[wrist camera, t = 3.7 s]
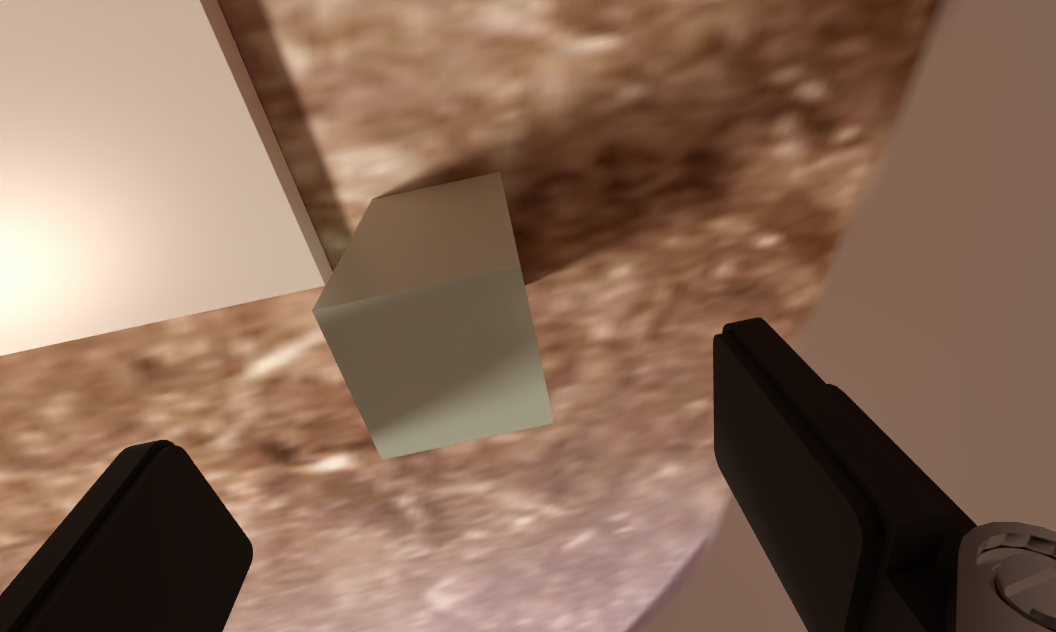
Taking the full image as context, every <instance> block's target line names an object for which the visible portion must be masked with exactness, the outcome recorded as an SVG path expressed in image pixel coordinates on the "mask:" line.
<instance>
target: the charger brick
mask: <svg viewBox="0 0 1056 632" xmlns="http://www.w3.org/2000/svg"><path fill="white" fill-rule="evenodd" d="M312 311H313V313H314V315H315V318H316V320H317V322H318V324H319V326H320V328H321V330H322V332H323V335H324V337H325V339H326V341H327V343H328V345H329V347H330V350H331V352H332V354H333V356H334V358H335V360H336V362H337V365H338V367H339V369H340V371H341V373H342V375H343V377H344V379H345V382H346V384H347V386H348V388H349V390H350V392H351V394H352V397H353V399H354V401H355V403H356V405H357V407H358V409H359V411H360V414H361V416H362V418H363V420H364V422H365V424H366V426H367V429H368V431H369V433H370V435H371V437H372V439H373V441H374V443H375V446H376V448H377V450H378V452H379V454H380V456H381V458H382V460H383V459H388V458H393V457H397V456H402V455H407V454H411V453H416V452H421V451H425V450H430V449H435V448H439V447H444V446H449V445H453V444H458V443H463V442H467V441H472V440H477V439H481V438H486V437H491V436H495V435H500V434H505V433H509V432H514V431H519V430H523V429H528V428H533V427H537V426H542V425H547V424H552V423H554V420H553V416H552V411H551V406H550V402H549V397H548V392H547V388H546V383H545V378H544V374H543V369H542V364H541V360H540V355H539V350H538V346H537V341H536V336H535V331H534V327H533V322H532V317H531V313H530V308H529V303H528V299H527V294H526V289H525V285H524V280H523V275H522V271H521V266H520V262H519V257H518V252H517V248H516V243H515V238H514V234H513V229H512V225H511V220H510V215H509V211H508V206H507V201H506V197H505V192H504V188H503V183H502V178H501V174H500V172H495V173H491V174H486V175H482V176H477V177H472V178H468V179H463V180H459V181H454V182H449V183H445V184H440V185H436V186H431V187H427V188H422V189H417V190H413V191H408V192H404V193H399V194H394V195H390V196H385V197H381V198H376V199H372V201H371V202H370V204H369V206H368V208H367V210H366V212H365V214H364V215H363V217H362V219H361V221H360V223H359V225H358V227H357V228H356V230H355V232H354V234H353V236H352V238H351V240H350V241H349V243H348V245H347V247H346V249H345V251H344V253H343V254H342V256H341V258H340V260H339V262H338V264H337V266H336V267H335V269H334V271H333V273H332V275H331V277H330V279H329V280H328V282H327V284H326V286H325V288H324V290H323V292H322V293H321V295H320V297H319V299H318V301H317V303H316V305H315V307H314V308H313V310H312Z"/></svg>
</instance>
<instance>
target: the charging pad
mask: <svg viewBox="0 0 1056 632" xmlns="http://www.w3.org/2000/svg"><path fill="white" fill-rule="evenodd" d="M332 272H333V271H332V269H331V267H330V264H329V262H328V260H327V257H326V255H325V253H324V250H323V248H322V246H321V243H320V241H319V239H318V236H317V234H316V231H315V229H314V227H313V224H312V222H311V220H310V217H309V215H308V213H307V210H306V208H305V206H304V203H303V201H302V199H301V196H300V194H299V192H298V189H297V187H296V184H295V182H294V180H293V177H292V175H291V173H290V170H289V168H288V166H287V163H286V161H285V159H284V156H283V154H282V152H281V149H280V147H279V145H278V142H277V140H276V138H275V135H274V133H273V130H272V128H271V126H270V123H269V121H268V119H267V116H266V114H265V112H264V109H263V107H262V105H261V102H260V100H259V98H258V95H257V93H256V91H255V88H254V86H253V83H252V81H251V79H250V76H249V74H248V72H247V69H246V67H245V65H244V62H243V60H242V58H241V55H240V53H239V51H238V48H237V46H236V44H235V41H234V39H233V36H232V34H231V32H230V29H229V27H228V25H227V22H226V20H225V18H224V15H223V13H222V11H221V8H220V6H219V4H218V1H217V0H0V356H2V355H6V354H11V353H15V352H20V351H25V350H29V349H34V348H39V347H43V346H48V345H52V344H57V343H62V342H66V341H71V340H76V339H80V338H85V337H89V336H94V335H99V334H103V333H108V332H113V331H117V330H122V329H126V328H131V327H136V326H140V325H145V324H150V323H154V322H159V321H163V320H168V319H173V318H177V317H182V316H187V315H191V314H196V313H200V312H205V311H210V310H214V309H219V308H224V307H228V306H233V305H237V304H242V303H247V302H251V301H256V300H261V299H265V298H270V297H274V296H279V295H284V294H288V293H293V292H298V291H302V290H307V289H311V288H316V287H321V286H325V285H326V283H327V281H328V280H329V278H330V276H331V274H332Z"/></svg>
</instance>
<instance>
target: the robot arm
mask: <svg viewBox="0 0 1056 632" xmlns="http://www.w3.org/2000/svg"><path fill="white" fill-rule="evenodd" d="M713 381H714V452H715V457H716V460H717V463H718V466H719V468H720V470H721V472H722V474H723V476H724V478H725V480H726V481H727V483H728V485H729V487H730V489H731V491H732V492H733V494H734V496H735V498H736V500H737V502H738V503H739V505H740V507H741V509H742V511H743V513H744V515H745V516H746V518H747V520H748V522H749V524H750V525H751V527H752V529H753V531H754V533H755V534H756V536H757V538H758V540H759V542H760V544H761V546H762V548H763V549H764V551H765V553H766V555H767V557H768V559H769V560H770V562H771V564H772V566H773V568H774V570H775V572H776V573H777V575H778V577H779V579H780V581H781V582H782V584H783V586H784V588H785V590H786V592H787V594H788V595H789V597H790V599H791V601H792V603H793V604H794V606H795V608H796V610H797V612H798V614H799V616H800V617H801V619H802V621H803V623H804V625H805V627H806V628H807V630H808V632H1056V532H1054V531H1051V530H1049V529H1046V528H1043V527H1039V526H1034V525H1029V524H1024V523H1019V522H991V523H988V524H984V525H981V526H977V525H976V524H975V523H974V522H973V521H972V520H971V519H970V518H969V517H968V516H967V515H966V514H965V513H964V512H963V511H962V510H961V509H960V508H959V507H958V506H957V505H956V504H955V503H954V502H953V501H952V500H951V499H950V498H949V497H948V496H947V495H946V494H945V493H944V492H943V491H942V490H941V489H940V488H939V487H938V486H937V485H936V484H935V483H934V482H933V481H932V480H931V479H930V478H929V477H928V476H927V475H926V474H925V473H924V472H923V471H922V470H921V469H920V468H919V467H918V466H917V465H916V464H915V463H914V462H913V461H912V460H911V459H910V458H909V457H908V456H907V455H906V454H905V453H904V452H903V451H902V450H901V449H900V448H899V447H898V446H897V445H896V444H895V443H894V442H893V441H892V440H891V439H890V438H889V437H888V436H887V435H886V434H885V433H884V432H883V431H882V430H881V429H880V428H879V427H878V426H877V425H876V424H875V423H874V422H873V421H872V420H871V419H870V418H869V417H868V416H867V415H866V414H865V413H864V412H863V411H862V410H861V409H860V408H859V407H858V406H857V405H856V404H855V403H854V402H853V401H852V400H851V399H850V398H849V397H848V396H847V395H846V394H845V393H844V392H843V391H842V390H841V389H839V388H838V387H837V386H834V385H831V384H826V383H825V382H824V381H823V380H822V379H821V378H820V377H819V376H818V375H817V374H816V373H815V372H814V371H813V370H812V369H811V368H810V367H809V366H808V365H807V364H806V363H805V362H804V360H803V359H802V358H801V357H800V356H799V355H798V354H797V353H796V352H795V351H794V350H793V349H792V348H791V347H790V346H789V345H788V344H787V343H786V342H785V341H784V340H783V339H782V338H781V337H780V336H779V335H778V334H777V333H776V332H775V331H774V330H773V329H772V328H771V327H770V325H769V324H768V323H767V322H766V321H765V320H763V319H762V318H758V317H757V318H753V319H748V320H743V321H738V322H733V323H728V324H726V325H724V327H723V331H722V334H717V335H715V336H714V339H713ZM252 558H253V548H252V544H251V542H250V540H249V539H248V537H247V536H246V535H245V533H244V532H243V530H242V529H241V528H240V526H239V525H238V524H237V522H236V521H235V519H234V518H233V517H232V515H231V514H230V512H229V511H228V510H227V508H226V507H225V505H224V504H223V503H222V501H221V500H220V499H219V497H218V496H217V494H216V493H215V492H214V490H213V489H212V487H211V486H210V485H209V483H208V482H207V480H206V479H205V478H204V476H203V475H202V473H201V472H200V471H199V469H198V468H197V467H196V465H195V464H194V462H193V461H192V460H191V458H190V457H189V455H188V454H187V453H186V451H185V450H184V449H183V448H182V447H179V446H175V445H174V444H173V443H172V442H170V441H168V440H158V441H153V442H148V443H143V444H139V445H134V446H130V447H128V448H125V449H124V450H123V451H122V452H121V453H120V454H119V455H118V456H117V457H116V458H115V460H114V461H113V462H112V463H111V464H110V466H109V467H108V468H107V469H106V470H105V472H104V473H103V474H102V475H101V476H100V477H99V479H98V480H97V481H96V482H95V483H94V485H93V486H92V487H91V488H90V489H89V491H88V492H87V493H86V494H85V495H84V497H83V498H82V499H81V500H80V501H79V502H78V504H77V505H76V506H75V507H74V508H73V510H72V511H71V512H70V513H69V514H68V516H67V517H66V518H65V519H64V520H63V522H62V523H61V524H60V525H59V526H58V527H57V529H56V530H55V531H54V532H53V533H52V535H51V536H50V537H49V538H48V539H47V541H46V542H45V543H44V544H43V545H42V547H41V548H40V549H39V550H38V551H37V552H36V554H35V555H34V556H33V557H32V558H31V560H30V561H29V562H28V563H27V564H26V566H25V567H24V568H23V569H22V570H21V572H20V573H19V574H18V575H17V576H16V577H15V579H14V580H13V581H12V582H11V583H10V585H9V586H8V587H7V588H6V589H5V591H4V592H3V593H2V594H1V595H0V632H222V631H223V629H224V627H225V624H226V622H227V619H228V617H229V615H230V612H231V610H232V608H233V605H234V603H235V601H236V598H237V596H238V593H239V591H240V589H241V586H242V584H243V582H244V579H245V577H246V575H247V572H248V570H249V567H250V565H251V562H252Z"/></svg>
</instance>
